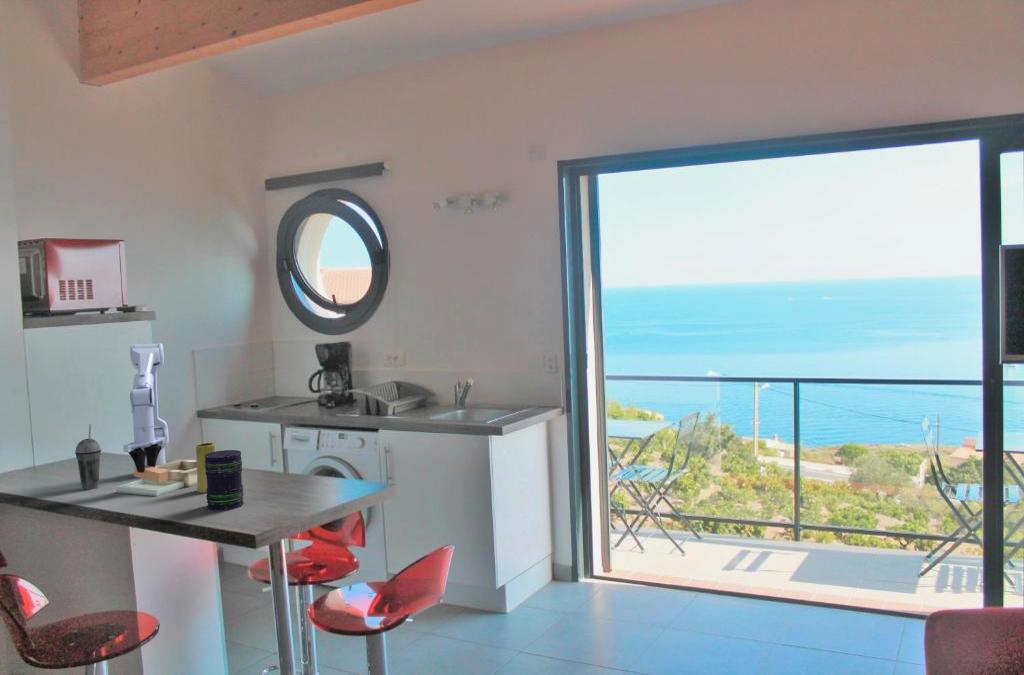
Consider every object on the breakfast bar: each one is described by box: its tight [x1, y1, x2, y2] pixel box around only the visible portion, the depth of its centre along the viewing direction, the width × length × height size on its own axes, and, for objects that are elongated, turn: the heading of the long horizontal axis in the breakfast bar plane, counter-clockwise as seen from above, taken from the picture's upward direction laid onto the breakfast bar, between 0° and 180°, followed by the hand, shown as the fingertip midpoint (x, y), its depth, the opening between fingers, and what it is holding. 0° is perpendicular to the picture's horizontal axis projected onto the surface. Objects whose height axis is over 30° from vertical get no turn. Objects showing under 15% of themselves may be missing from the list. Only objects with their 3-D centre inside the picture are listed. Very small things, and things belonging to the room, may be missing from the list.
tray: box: [115, 478, 185, 497], centre depth 245 cm, size 16×11×2 cm
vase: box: [195, 442, 216, 494], centre depth 242 cm, size 6×6×14 cm
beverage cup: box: [74, 424, 102, 491], centre depth 249 cm, size 7×7×20 cm
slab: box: [133, 465, 168, 483], centre depth 244 cm, size 10×4×3 cm, turn 69°
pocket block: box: [155, 458, 197, 488], centre depth 258 cm, size 18×16×4 cm
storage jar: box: [205, 449, 245, 512], centre depth 223 cm, size 10×10×15 cm
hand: (146, 470), depth 245 cm, fingers closed on slab, 3 cm apart
